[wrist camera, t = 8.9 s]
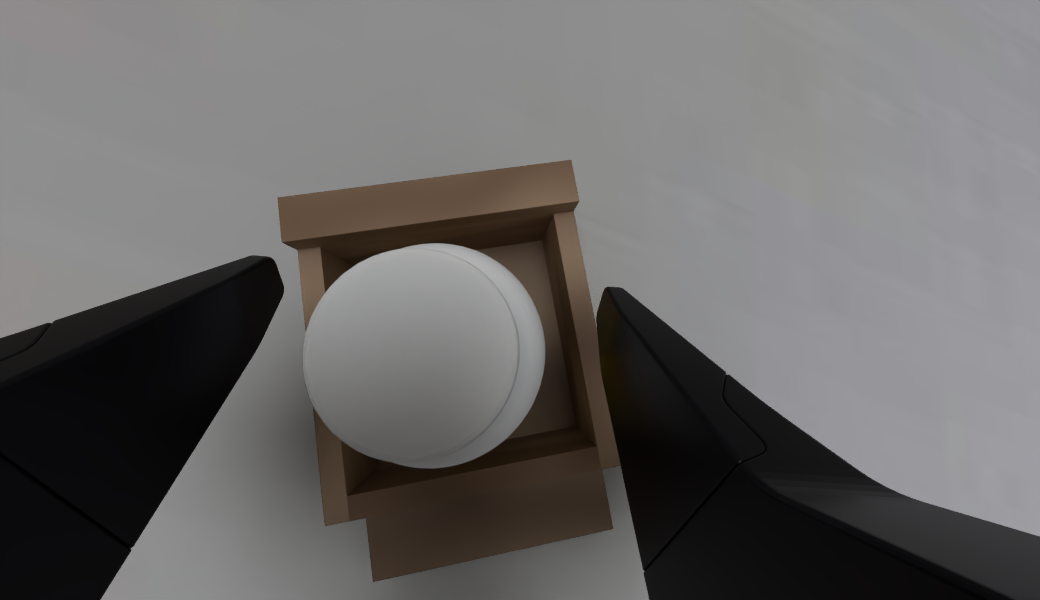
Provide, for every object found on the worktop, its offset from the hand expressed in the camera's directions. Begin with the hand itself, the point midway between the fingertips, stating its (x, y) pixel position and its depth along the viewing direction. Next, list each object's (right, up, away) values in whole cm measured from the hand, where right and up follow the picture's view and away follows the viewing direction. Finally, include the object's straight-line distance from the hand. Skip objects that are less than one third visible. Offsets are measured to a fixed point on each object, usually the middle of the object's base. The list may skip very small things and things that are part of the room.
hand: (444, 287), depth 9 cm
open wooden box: (0, -4, +9) cm, 10 cm away
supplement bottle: (-1, -3, +8) cm, 8 cm away
